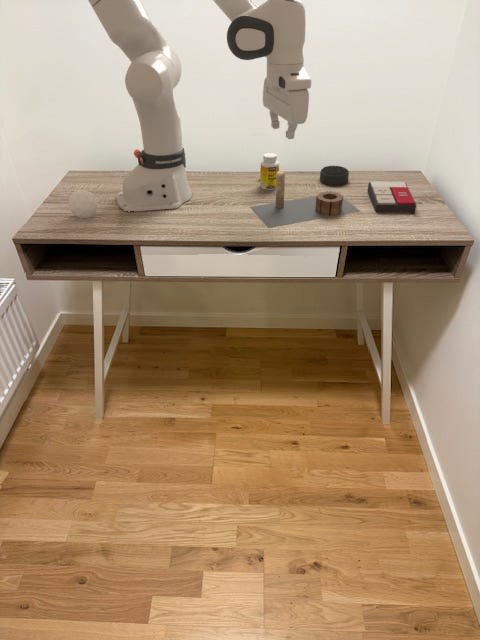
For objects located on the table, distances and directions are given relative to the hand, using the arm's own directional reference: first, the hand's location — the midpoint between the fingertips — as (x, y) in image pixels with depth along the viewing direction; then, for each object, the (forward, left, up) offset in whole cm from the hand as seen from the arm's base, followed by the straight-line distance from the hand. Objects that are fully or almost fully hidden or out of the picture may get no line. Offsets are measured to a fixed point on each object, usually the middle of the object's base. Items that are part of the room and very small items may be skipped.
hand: (282, 133), depth 126 cm
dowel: (0, 0, -21) cm, 21 cm away
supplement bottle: (+3, +15, -21) cm, 26 cm away
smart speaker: (+24, +12, -21) cm, 34 cm away
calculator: (+31, -8, -22) cm, 39 cm away
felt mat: (+6, -4, -21) cm, 22 cm away
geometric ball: (-53, +15, -21) cm, 59 cm away
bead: (+12, -7, -21) cm, 25 cm away
